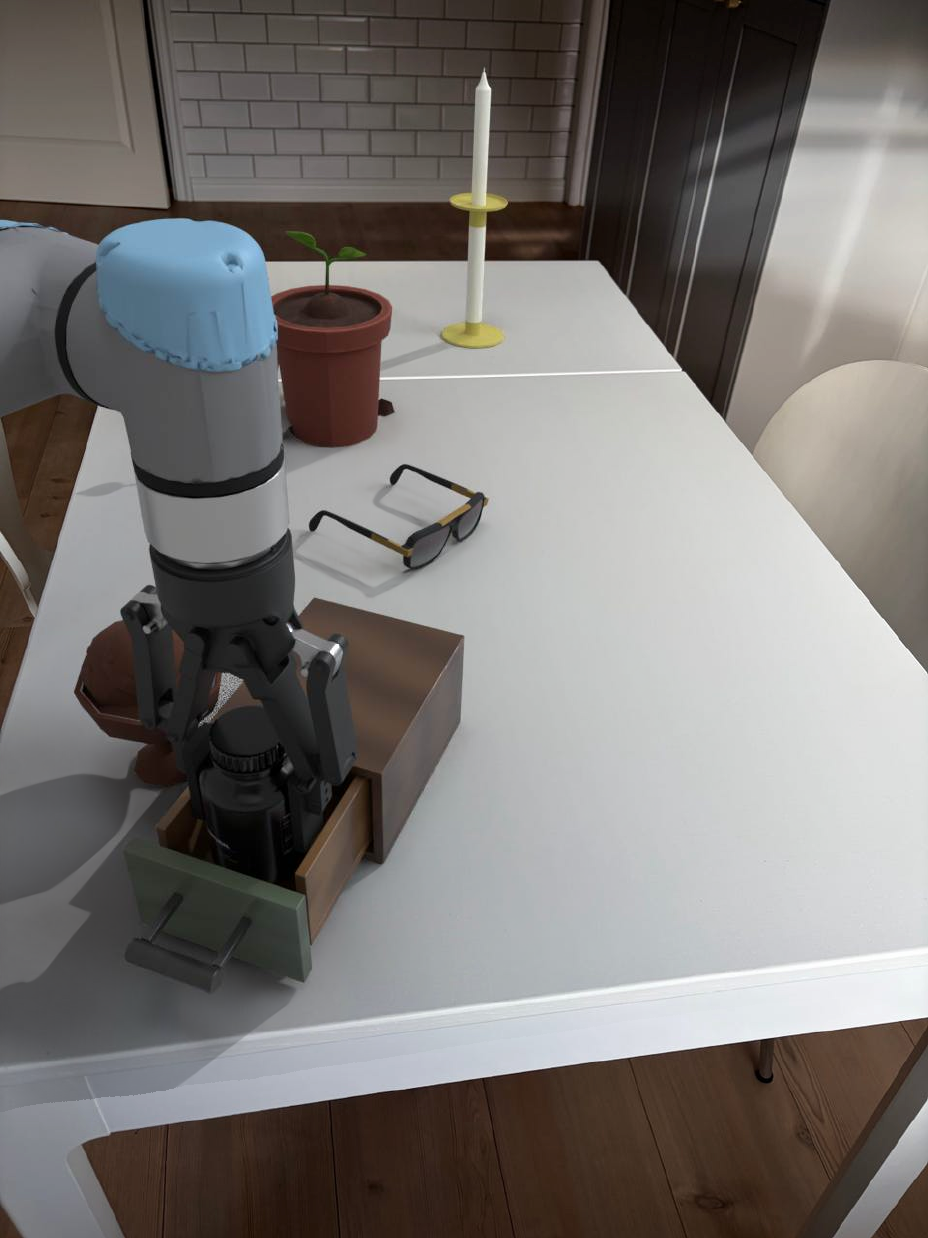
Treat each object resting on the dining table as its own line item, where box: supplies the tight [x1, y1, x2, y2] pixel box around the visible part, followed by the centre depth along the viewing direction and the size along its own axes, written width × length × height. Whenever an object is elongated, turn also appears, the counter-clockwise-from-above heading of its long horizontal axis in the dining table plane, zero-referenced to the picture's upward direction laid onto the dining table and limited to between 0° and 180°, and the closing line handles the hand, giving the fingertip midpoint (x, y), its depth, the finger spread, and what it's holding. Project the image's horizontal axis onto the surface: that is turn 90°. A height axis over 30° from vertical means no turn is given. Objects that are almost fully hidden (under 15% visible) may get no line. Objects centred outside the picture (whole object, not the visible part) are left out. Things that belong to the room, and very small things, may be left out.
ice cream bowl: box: [73, 619, 223, 788], centre depth 76 cm, size 11×11×15 cm
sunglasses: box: [308, 463, 490, 571], centre depth 109 cm, size 14×15×5 cm
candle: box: [440, 67, 509, 349], centre depth 145 cm, size 10×10×38 cm
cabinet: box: [208, 596, 465, 865], centre depth 79 cm, size 17×14×10 cm
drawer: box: [122, 772, 373, 995], centre depth 68 cm, size 21×12×8 cm, turn 160°
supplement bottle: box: [199, 705, 311, 886], centre depth 65 cm, size 7×7×12 cm
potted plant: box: [271, 230, 395, 448], centre depth 124 cm, size 18×22×25 cm
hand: (258, 820), depth 67 cm, fingers closed on supplement bottle, 7 cm apart
